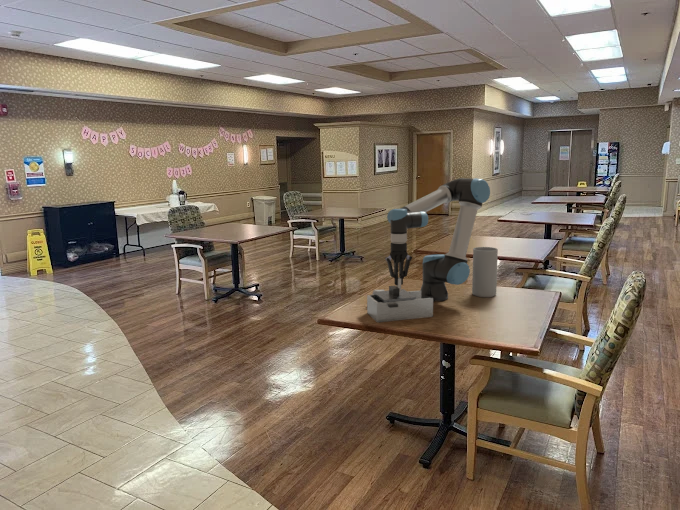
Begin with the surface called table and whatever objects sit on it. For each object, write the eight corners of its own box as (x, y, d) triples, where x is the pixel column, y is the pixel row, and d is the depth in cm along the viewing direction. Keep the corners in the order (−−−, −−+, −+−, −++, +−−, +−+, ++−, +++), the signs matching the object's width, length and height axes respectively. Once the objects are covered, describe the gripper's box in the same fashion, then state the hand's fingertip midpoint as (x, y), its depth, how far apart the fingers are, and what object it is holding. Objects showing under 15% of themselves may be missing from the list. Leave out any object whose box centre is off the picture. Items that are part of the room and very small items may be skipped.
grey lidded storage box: (418, 306, 260) (418, 289, 258) (434, 317, 242) (434, 299, 240) (366, 312, 253) (365, 294, 252) (378, 323, 235) (378, 304, 234)
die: (382, 310, 258) (392, 293, 259) (367, 301, 258) (376, 284, 260) (381, 311, 266) (390, 294, 268) (366, 302, 267) (375, 286, 268)
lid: (403, 291, 255) (403, 282, 254) (415, 299, 240) (415, 289, 239) (373, 293, 251) (373, 284, 250) (383, 302, 236) (383, 292, 235)
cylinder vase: (470, 291, 287) (472, 246, 282) (494, 291, 285) (495, 246, 280) (473, 297, 275) (474, 251, 270) (497, 297, 273) (499, 251, 268)
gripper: (408, 240, 246) (408, 288, 250) (382, 241, 243) (383, 290, 247) (414, 242, 239) (414, 292, 243) (388, 244, 236) (388, 294, 240)
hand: (398, 291), depth 245 cm, fingers closed
